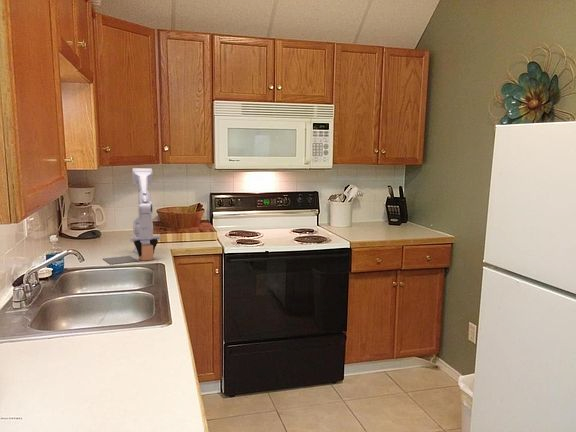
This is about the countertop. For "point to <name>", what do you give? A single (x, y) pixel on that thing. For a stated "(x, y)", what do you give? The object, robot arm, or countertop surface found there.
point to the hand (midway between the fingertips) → (145, 255)
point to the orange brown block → (146, 252)
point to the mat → (120, 260)
